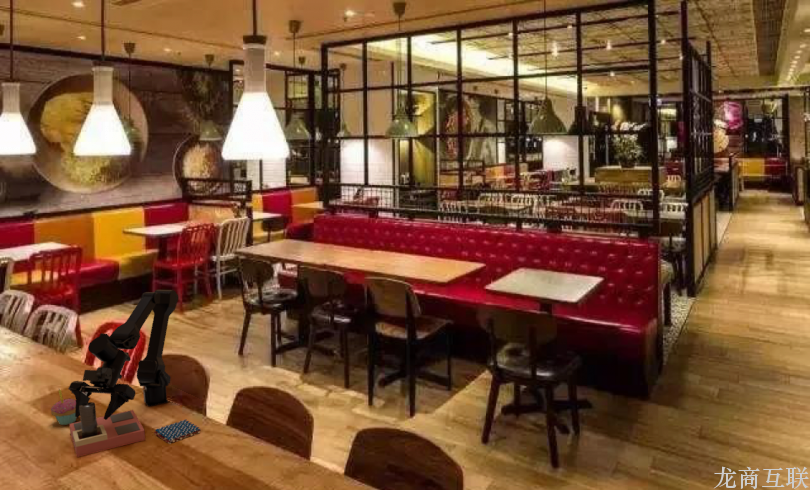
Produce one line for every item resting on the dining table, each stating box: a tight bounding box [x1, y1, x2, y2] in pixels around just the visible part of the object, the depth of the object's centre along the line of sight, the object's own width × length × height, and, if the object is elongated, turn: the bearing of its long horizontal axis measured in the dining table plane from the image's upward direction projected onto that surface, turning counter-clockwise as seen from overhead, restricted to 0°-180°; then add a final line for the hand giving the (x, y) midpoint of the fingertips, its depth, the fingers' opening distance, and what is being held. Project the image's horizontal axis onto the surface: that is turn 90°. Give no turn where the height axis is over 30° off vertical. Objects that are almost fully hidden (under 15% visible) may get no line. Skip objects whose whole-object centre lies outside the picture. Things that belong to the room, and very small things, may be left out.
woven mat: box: [153, 419, 201, 445], centre depth 185 cm, size 10×11×2 cm
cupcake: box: [50, 388, 77, 426], centre depth 193 cm, size 9×8×12 cm
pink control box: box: [69, 409, 146, 458], centre depth 183 cm, size 18×18×4 cm
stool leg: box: [79, 401, 98, 439], centre depth 175 cm, size 4×4×13 cm
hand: (90, 418), depth 176 cm, fingers open, 9 cm apart
